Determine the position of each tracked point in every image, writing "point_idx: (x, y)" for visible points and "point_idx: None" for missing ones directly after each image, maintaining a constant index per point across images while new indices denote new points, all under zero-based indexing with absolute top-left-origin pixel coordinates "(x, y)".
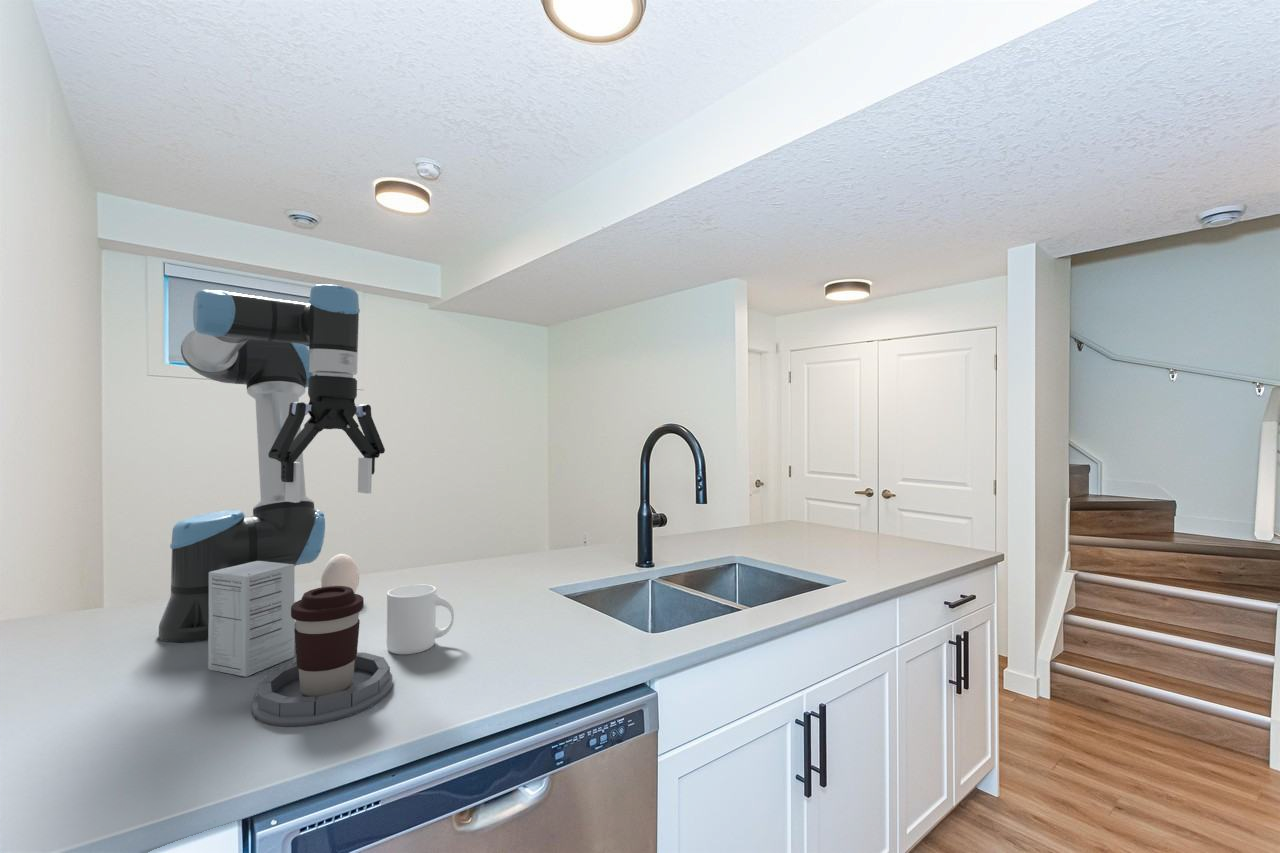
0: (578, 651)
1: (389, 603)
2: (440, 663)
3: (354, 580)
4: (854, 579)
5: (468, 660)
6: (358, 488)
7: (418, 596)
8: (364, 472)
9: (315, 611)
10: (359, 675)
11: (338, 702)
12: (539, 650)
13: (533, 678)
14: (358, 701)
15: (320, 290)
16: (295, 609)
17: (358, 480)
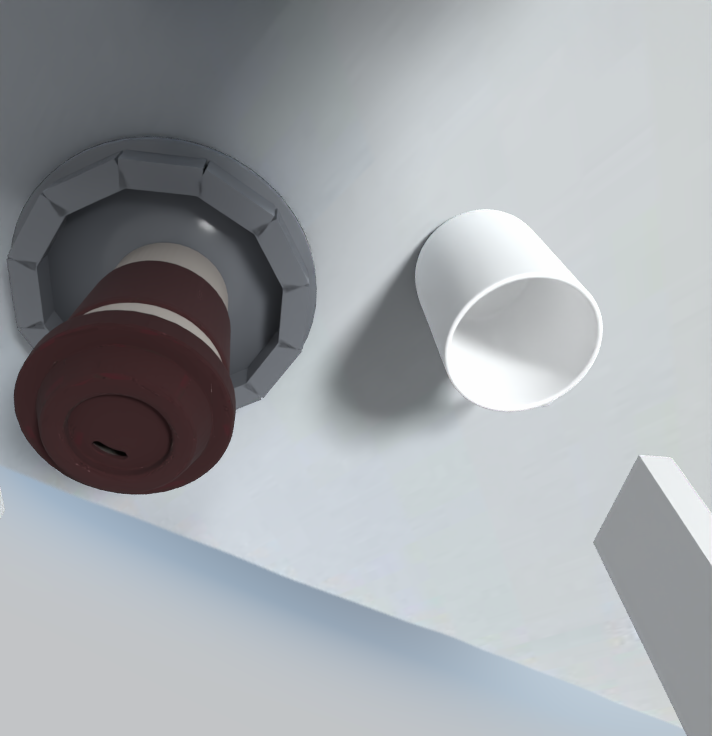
0: (528, 568)
1: (448, 307)
2: (401, 392)
3: None
4: None
5: (433, 431)
6: (651, 484)
7: (471, 400)
8: (698, 673)
9: (43, 456)
10: (252, 310)
11: None
12: (518, 515)
13: (392, 558)
14: None
15: None
16: (17, 396)
17: (690, 540)
